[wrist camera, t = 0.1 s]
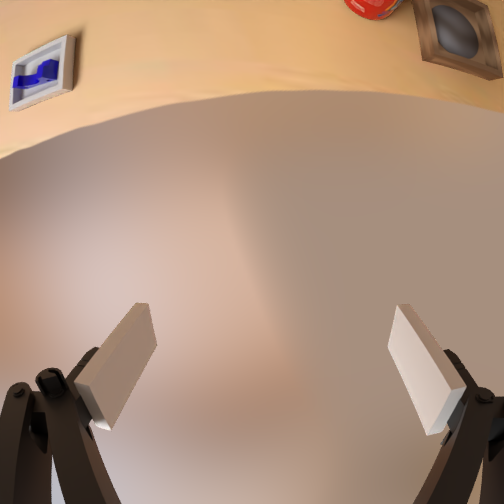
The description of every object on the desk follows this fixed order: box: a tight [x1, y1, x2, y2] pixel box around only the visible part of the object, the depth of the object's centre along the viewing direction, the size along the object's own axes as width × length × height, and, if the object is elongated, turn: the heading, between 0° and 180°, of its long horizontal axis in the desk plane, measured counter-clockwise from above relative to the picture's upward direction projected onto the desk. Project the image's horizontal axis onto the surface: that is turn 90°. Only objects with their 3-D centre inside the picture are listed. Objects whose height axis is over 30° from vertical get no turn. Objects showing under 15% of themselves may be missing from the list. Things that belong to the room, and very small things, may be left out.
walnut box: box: [412, 0, 503, 80], centre depth 27 cm, size 14×14×4 cm
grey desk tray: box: [9, 35, 76, 111], centre depth 34 cm, size 10×14×3 cm
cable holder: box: [12, 59, 59, 89], centre depth 33 cm, size 8×4×4 cm, turn 87°
